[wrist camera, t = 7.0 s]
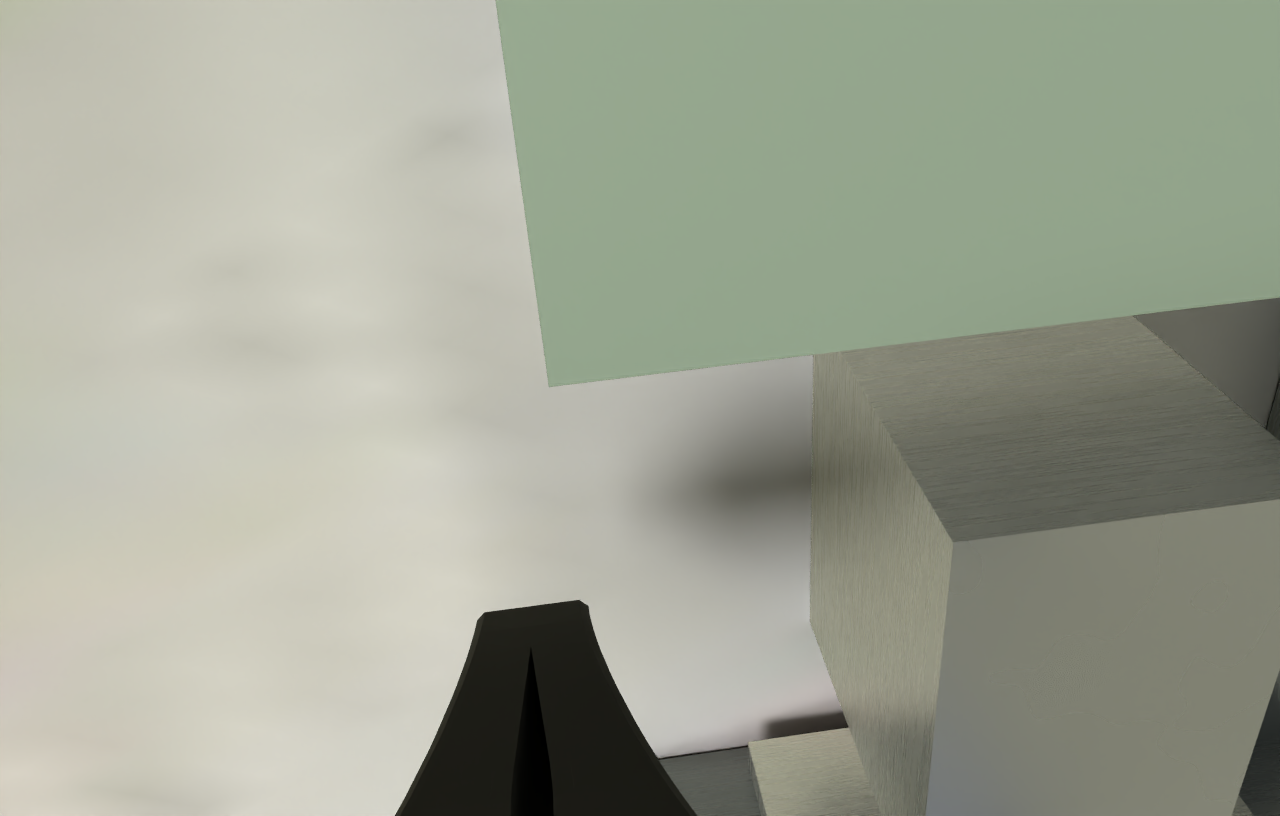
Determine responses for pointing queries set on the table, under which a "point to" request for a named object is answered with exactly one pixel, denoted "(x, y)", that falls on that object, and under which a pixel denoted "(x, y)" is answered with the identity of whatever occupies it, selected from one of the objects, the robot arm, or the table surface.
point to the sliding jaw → (883, 170)
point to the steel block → (1044, 572)
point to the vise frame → (837, 783)
